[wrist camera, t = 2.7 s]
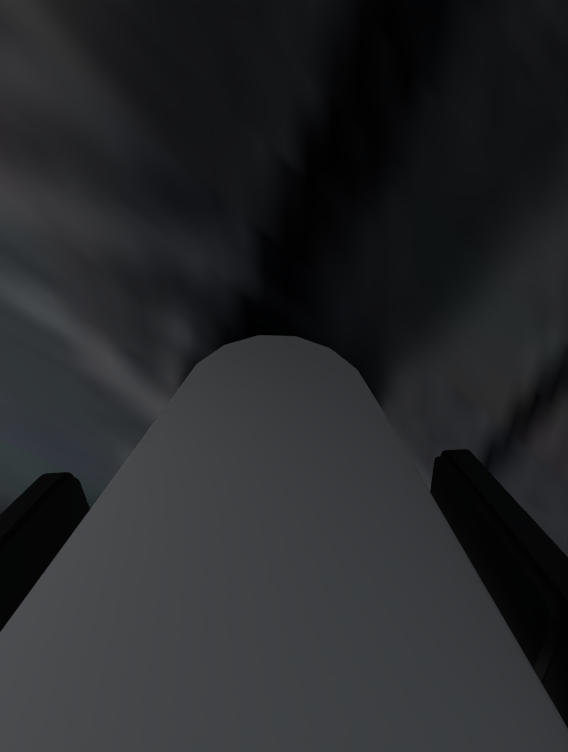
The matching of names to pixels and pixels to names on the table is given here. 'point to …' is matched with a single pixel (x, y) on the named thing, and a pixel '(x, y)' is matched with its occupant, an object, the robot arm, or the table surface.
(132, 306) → the table surface
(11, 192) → the table surface
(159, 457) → the can
